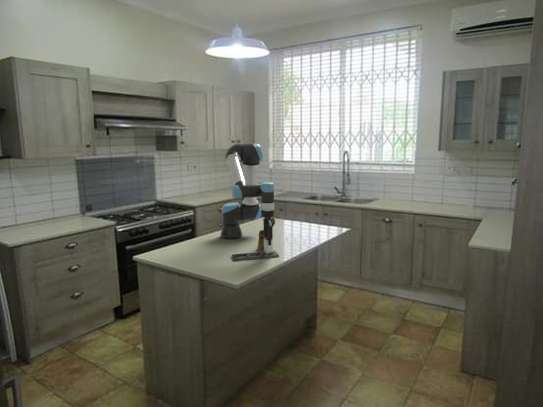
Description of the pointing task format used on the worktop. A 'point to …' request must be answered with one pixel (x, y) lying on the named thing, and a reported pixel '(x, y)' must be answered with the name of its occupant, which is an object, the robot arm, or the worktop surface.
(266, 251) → the steel peg
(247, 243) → the worktop surface
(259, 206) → the robot arm
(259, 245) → the wooden mug
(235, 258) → the dark grey slotted board
